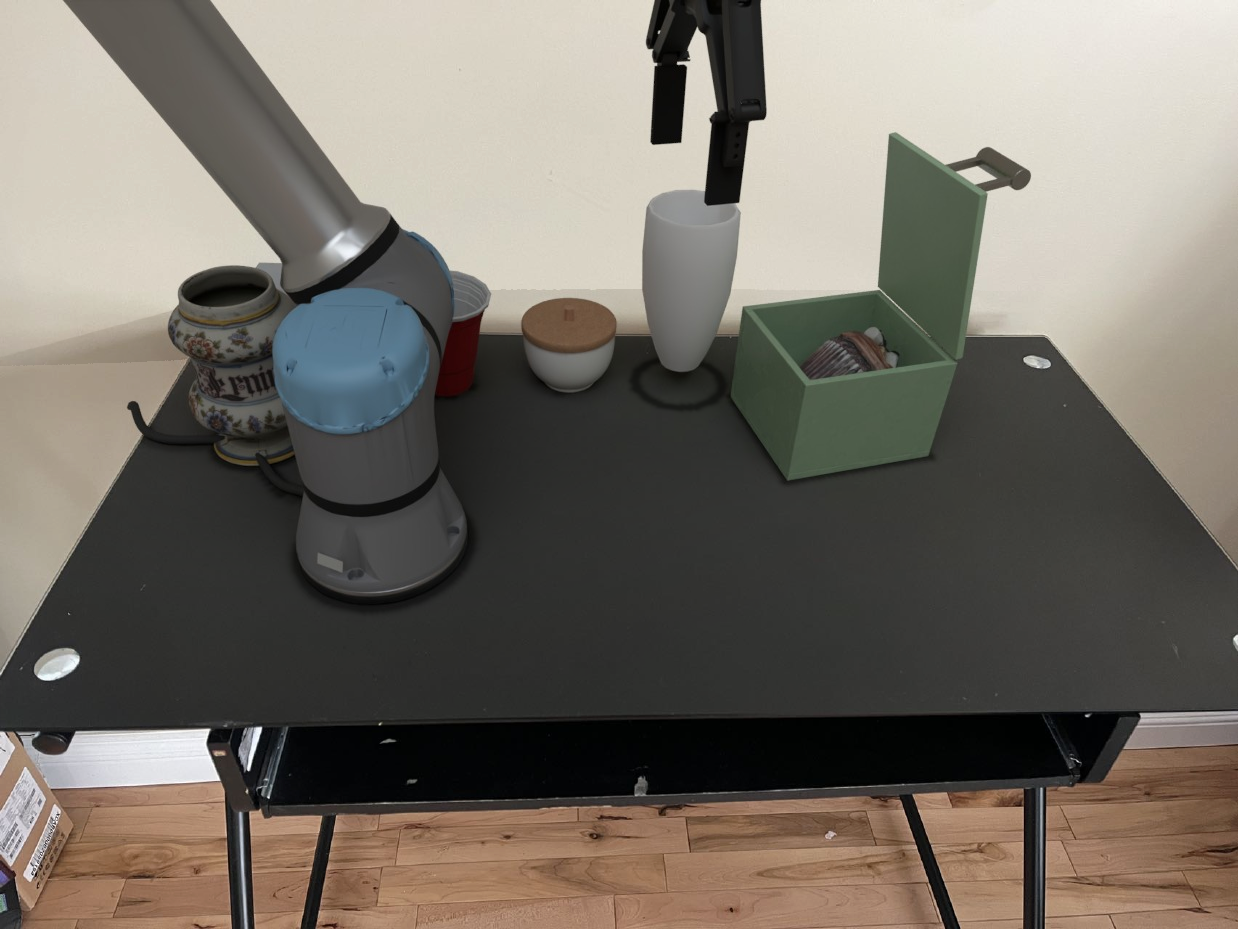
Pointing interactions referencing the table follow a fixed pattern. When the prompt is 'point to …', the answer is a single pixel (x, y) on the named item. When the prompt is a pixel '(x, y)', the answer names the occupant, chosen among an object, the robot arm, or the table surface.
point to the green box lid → (936, 235)
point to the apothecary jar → (234, 359)
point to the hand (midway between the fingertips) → (691, 171)
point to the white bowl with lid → (569, 342)
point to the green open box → (837, 385)
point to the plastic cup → (462, 335)
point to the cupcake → (850, 355)
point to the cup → (687, 273)
